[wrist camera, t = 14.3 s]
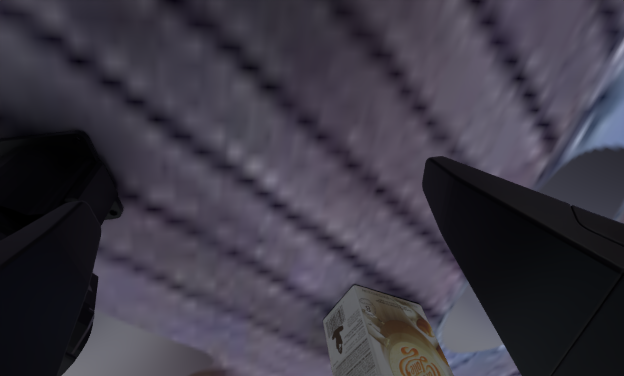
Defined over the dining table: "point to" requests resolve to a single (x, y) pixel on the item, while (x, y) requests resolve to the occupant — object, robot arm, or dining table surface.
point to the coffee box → (381, 337)
